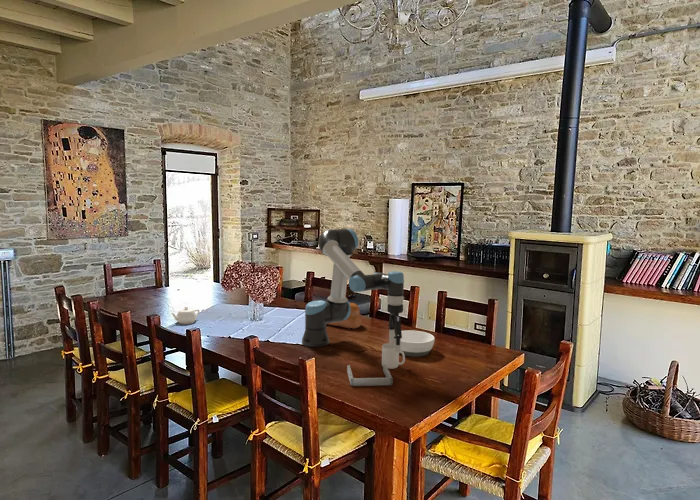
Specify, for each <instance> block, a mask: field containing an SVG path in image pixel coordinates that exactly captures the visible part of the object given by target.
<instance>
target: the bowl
mask: <svg viewBox="0 0 700 500" xmlns="http://www.w3.org/2000/svg"><path fill="white" fill-rule="evenodd" d="M401 333H402V338H401V346H400V350H401V351H403V352H404V355H405V357H414V358H415V357H416V358H417V357H425V356H427V355H429V353H430V352H431V350H432V349H433V347H434V344H435V336H434V335H433V334H431V333H429V332H426V331H421V330H420V331H419V330H410V329H409V330H401ZM393 344H395V343H393ZM399 355H402V353H399Z"/></svg>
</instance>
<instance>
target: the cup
mask: <svg viewBox="0 0 700 500" xmlns="http://www.w3.org/2000/svg"><path fill="white" fill-rule="evenodd" d="M381 345H382V346H381V366H382V367H383V365H386V366H387V368H388V370H390V369H391V370H392V369H393V370H394V369H396V368H397V369H398V367H399V366H403V364H405V361H406V355H404V352H403V351H401V350H400V352H395V351H394V346H395V344H394V343H389V342H388V343H387V342H386V343H383V344H381ZM400 353H402V354H401V355H402V360H401V362H400Z"/></svg>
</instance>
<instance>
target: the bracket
mask: <svg viewBox="0 0 700 500" xmlns="http://www.w3.org/2000/svg"><path fill="white" fill-rule="evenodd" d="M382 371H383V374H384V375H385V377H360V378H359V377H354V375H353V372H352V369H351V364H348V365H347V367H346V372H347V376H348V381H349V383H350V387H365V386H366V387H368V386H370V387H371V386H393V383H394V382H393V380H394V379H393V377H392V375H391V372H390V369H388V368H387V366H386V365H383V366H382Z"/></svg>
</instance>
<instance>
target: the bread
mask: <svg viewBox="0 0 700 500" xmlns="http://www.w3.org/2000/svg"><path fill="white" fill-rule="evenodd" d="M349 303H350V307H351V313H350V316H349V317H348V318H347V319H346V320H343V321H340V322H339V321H338V322H332V323H326V325H330V326H335V327H341V328H346V329H351V328H352V329H353V330H354V329H357V328H360V327H361V326H362V324H363V320H362V315H361V314H360V306H359V305H357V303H355V302H349Z"/></svg>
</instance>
